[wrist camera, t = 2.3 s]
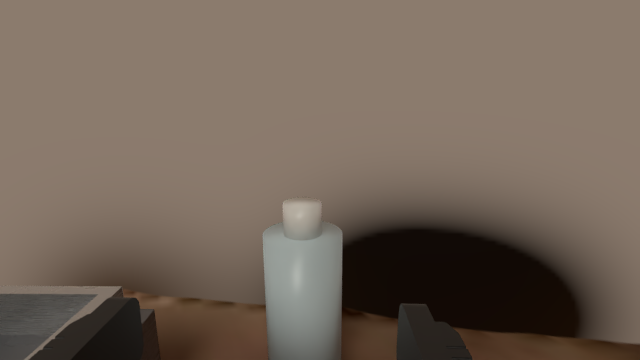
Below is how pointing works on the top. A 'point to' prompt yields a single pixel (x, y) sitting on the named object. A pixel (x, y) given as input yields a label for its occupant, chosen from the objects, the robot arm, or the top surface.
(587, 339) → the top surface
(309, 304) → the bottle
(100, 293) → the grey socket base
